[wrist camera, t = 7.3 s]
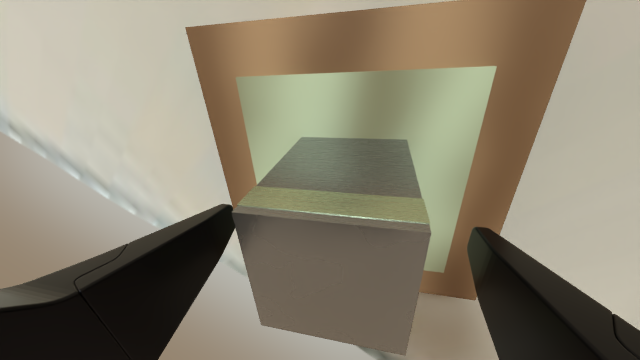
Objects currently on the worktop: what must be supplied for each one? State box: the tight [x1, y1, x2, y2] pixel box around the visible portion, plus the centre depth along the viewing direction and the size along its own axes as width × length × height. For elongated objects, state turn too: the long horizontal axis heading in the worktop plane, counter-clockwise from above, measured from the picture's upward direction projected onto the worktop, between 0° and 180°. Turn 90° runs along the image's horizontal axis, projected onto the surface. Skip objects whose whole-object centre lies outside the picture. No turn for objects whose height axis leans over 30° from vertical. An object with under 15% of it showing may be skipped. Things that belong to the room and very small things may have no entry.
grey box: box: [232, 137, 431, 355], centre depth 9 cm, size 5×5×6 cm
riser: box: [185, 0, 586, 300], centre depth 13 cm, size 14×14×3 cm
